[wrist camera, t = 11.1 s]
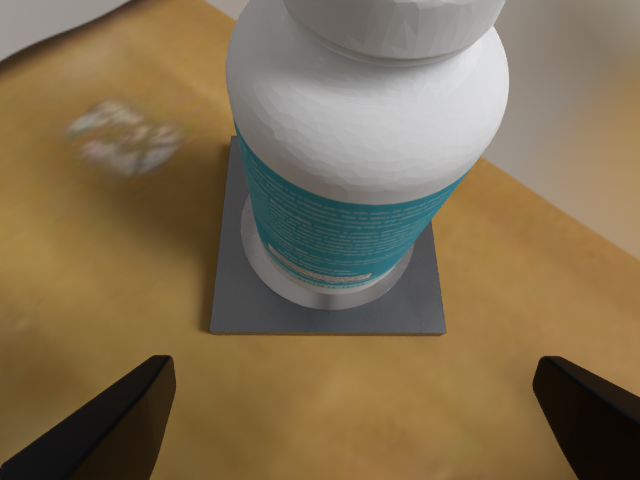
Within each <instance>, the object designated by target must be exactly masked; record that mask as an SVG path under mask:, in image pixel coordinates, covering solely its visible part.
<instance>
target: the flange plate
mask: <svg viewBox="0 0 640 480" xmlns="http://www.w3.org/2000/svg"><path fill="white" fill-rule="evenodd" d="M210 332H211V333H212V334H213V335H302V336H440V335H443V334H445V333H446V326H445V319H444V311H443V304H442V296H441V289H440V282H439V274H438V267H437V260H436V252H435V245H434V238H433V230H432V223H431V220H430V222H429V223H428V224H427V226H426V227H425V228H424V229H423V231H422V232H421V233H420V235H419V236H418V237H417V238H416V240H415V241H414V242H413V244H412V245H411V246H410V247H409V249H408V250H407V251H406V253H405V254H404V255H403V256H402V258H401V259H400V260H399V261H398V263H397V264H396V265H395V266H394V268H393V269H392V270H391V271H390V272H389V273H388V274H387V275H386V276H385V277H384V278H382V279H381V280H380V281H378V282H377V283H375V284H374V285H372V286H370V287H368V288H365V289H363V290H360V291H357V292H353V293H348V294H323V293H318V292H313V291H310V290H307V289H305V288H302V287H300V286H298V285H296V284H294V283H293V282H291V281H289V280H288V279H287V278H285V277H284V276H283V275H282V274H281V273H280V272H278V270H277V269H276V268H275V267H274V266H273V265H272V264H271V262H270V261H269V259H268V258H267V256H266V254H265V252H264V250H263V248H262V245H261V243H260V240H259V236H258V232H257V227H256V222H255V218H254V213H253V208H252V203H251V198H250V194H249V190H248V185H247V180H246V175H245V170H244V166H243V161H242V156H241V152H240V147H239V142H238V138H237V136H231V143H230V152H229V161H228V170H227V179H226V189H225V198H224V207H223V216H222V225H221V234H220V243H219V252H218V261H217V270H216V279H215V288H214V297H213V306H212V315H211V324H210Z"/></svg>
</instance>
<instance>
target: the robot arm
mask: <svg viewBox="0 0 640 480" xmlns="http://www.w3.org/2000/svg"><path fill="white" fill-rule="evenodd" d="M532 386H533V391H534V393H535V396H536V398H537V400H538V402H539V404H540V406H541V408H542V410H543V412H544V414H545V417H546V419H547V421H548V423H549V425H550V427H551V429H552V431H553V433H554V435H555V438H556V440H557V442H558V444H559V446H560V448H561V450H562V452H563V453H564V455H565V457H566V459H567V461H568V462H569V464H570V466H571V467H572V469H573V471H574V473H575V474H576V476H577V478H578V479H579V480H640V397H638V396H636V395H634V394H632V393H630V392H628V391H626V390H625V389H623V388H621V387H619V386H617V385H615V384H613V383H611V382H609V381H607V380H605V379H603V378H601V377H599V376H597V375H595V374H594V373H592V372H590V371H588V370H586V369H584V368H582V367H580V366H578V365H576V364H574V363H572V362H570V361H568V360H566V359H564V358H562V357H560V356H543V357H542V358H541V359H540V360H539V363H538V366H537V369H536V372H535V376H534V379H533V385H532ZM175 391H176V378H175V370H174V363H173V359H172V357H171V356H170V355H154V356H152V357H150V358H149V359H147V360H146V361H145V362H143V363H142V364H140V365H139V366H138V367H136V368H135V369H134V370H132V371H131V372H129V373H128V374H127V375H125V376H124V377H122V378H121V379H120V380H118V381H117V382H115V383H114V384H113V385H111V386H110V387H109V388H107V389H106V390H104V391H103V392H102V393H100V394H99V395H97V396H96V397H95V398H93V399H92V400H91V401H89V402H88V403H86V404H85V405H84V406H82V407H81V408H79V409H78V410H77V411H75V412H74V413H72V414H71V415H70V416H68V417H67V418H66V419H64V420H63V421H61V422H60V423H59V424H57V425H56V426H54V427H53V428H52V429H50V430H49V431H48V432H46V433H45V434H43V435H42V436H41V437H39V438H38V439H36V440H35V441H34V442H32V443H31V444H30V445H28V446H27V447H25V448H24V449H23V450H21V451H20V452H18V453H17V454H16V455H14V456H13V457H11V458H10V459H9V460H7V461H6V462H5V463H3V464H2V465H1V469H0V480H149V479H150V476H151V474H152V471H153V469H154V466H155V463H156V460H157V457H158V454H159V450H160V447H161V443H162V440H163V436H164V432H165V429H166V425H167V421H168V418H169V414H170V410H171V407H172V403H173V399H174V396H175Z"/></svg>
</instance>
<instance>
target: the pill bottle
mask: <svg viewBox="0 0 640 480" xmlns="http://www.w3.org/2000/svg"><path fill="white" fill-rule="evenodd" d="M505 1H506V0H250V1H249V3H248V4H247V5H246V7H245V8H244V10H243V11H242V13H241V14H240V16H239V18H238V20H237V22H236V24H235V26H234V29H233V31H232V34H231V37H230V41H229V45H228V50H227V57H226V83H227V89H228V95H229V100H230V105H231V110H232V114H233V119H234V124H235V128H236V133H237V138H238V142H239V147H240V152H241V156H242V161H243V166H244V170H245V175H246V180H247V185H248V190H249V194H250V198H251V203H252V208H253V213H254V218H255V222H256V227H257V232H258V236H259V240H260V243H261V245H262V248H263V250H264V252H265V254H266V256H267V258H268V259H269V261H270V262H271V264H272V265H273V266H274V267H275V268H276V269H277V270H278V272H280V273H281V274H282V275H283V276H284V277H285V278H287V279H288V280H289V281H291V282H293V283H294V284H296V285H298V286H300V287H302V288H305V289H307V290H310V291H313V292H318V293H323V294H348V293H353V292H357V291H360V290H363V289H365V288H368V287H370V286H372V285H374V284H375V283H377V282H378V281H380V280H381V279H382V278H384V277H385V276H386V275H387V274H388V273H389V272H390V271H391V270H392V269H393V268H394V266H395V265H396V264H397V263H398V261H399V260H400V259H401V258H402V256H403V255H404V254H405V253H406V251H407V250H408V249H409V247H410V246H411V245H412V244H413V242H414V241H415V240H416V238H417V237H418V236H419V235H420V233H421V232H422V231H423V229H424V228H425V227H426V226H427V224H428V223H429V222H430V220H431V219H432V218H433V216H434V215H435V214H436V213H437V211H438V210H439V209H440V207H441V206H442V205H443V204H444V202H445V201H446V200H447V198H448V197H449V196H450V195H451V193H452V192H453V191H454V189H455V188H456V187H457V186H458V184H459V183H460V182H461V180H462V179H463V178H464V176H465V175H466V174H467V173H468V171H469V170H470V169H471V167H472V166H473V165H474V164H475V162H476V161H477V160H478V158H479V157H480V155H481V154H482V153H483V151H484V150H485V149H486V147H487V146H488V145H489V143H490V142H491V140H492V138H493V137H494V135H495V133H496V131H497V129H498V128H499V126H500V123H501V120H502V118H503V115H504V112H505V108H506V104H507V99H508V91H509V73H508V64H507V59H506V54H505V51H504V48H503V45H502V43H501V40H500V38H499V36H498V34H497V32H496V30H495V28H494V27H493V24H494V23H495V21H496V19H497V17H498V15H499V13H500V11H501V9H502V7H503V5H504V3H505Z"/></svg>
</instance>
